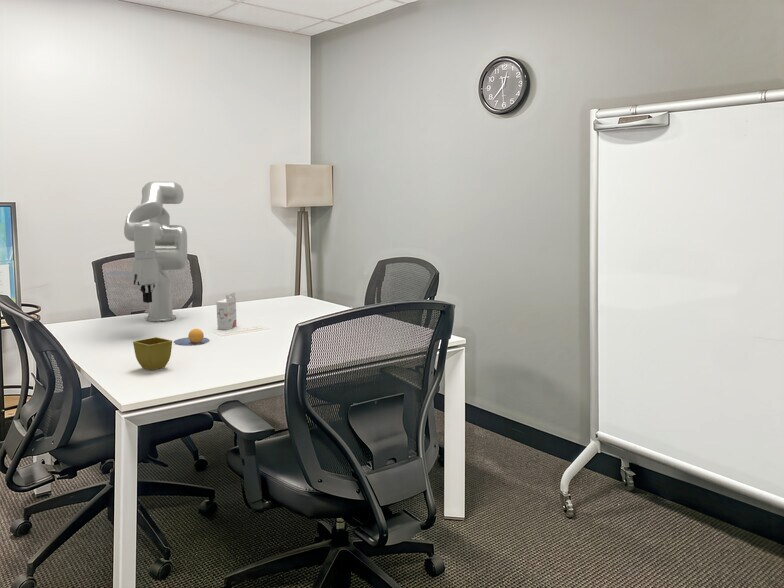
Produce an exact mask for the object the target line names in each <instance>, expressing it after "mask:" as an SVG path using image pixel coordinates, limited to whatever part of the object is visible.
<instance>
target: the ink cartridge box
mask: <svg viewBox="0 0 784 588" xmlns="http://www.w3.org/2000/svg"><path fill="white" fill-rule="evenodd" d="M236 301H237V299H236V292H231V293H228V294H226V295H225V298H224V299H221V300H218V301H216V302H215V303H216V319H217V320H216V321H217V330H221V331H222V330H224V331H226V330H227V331H228V330H230V329H233V328H236V327H237V302H236Z"/></svg>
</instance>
